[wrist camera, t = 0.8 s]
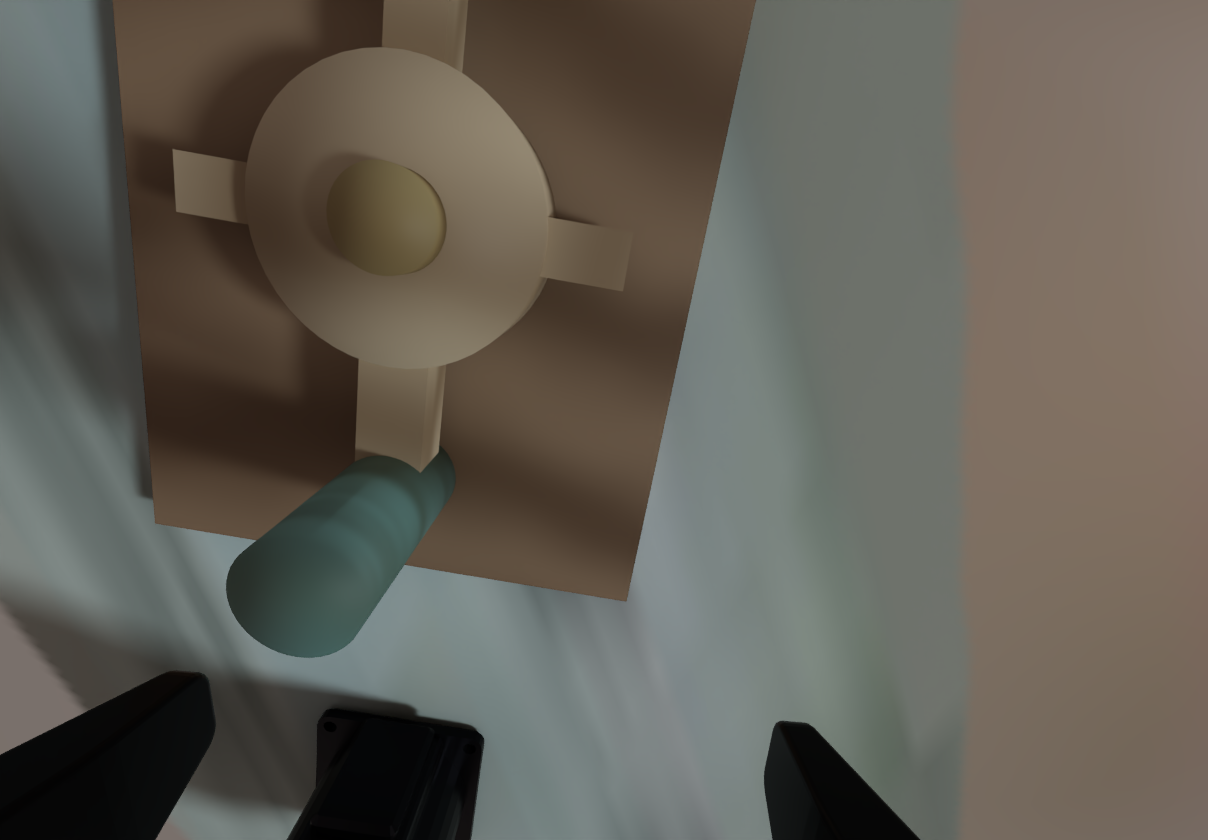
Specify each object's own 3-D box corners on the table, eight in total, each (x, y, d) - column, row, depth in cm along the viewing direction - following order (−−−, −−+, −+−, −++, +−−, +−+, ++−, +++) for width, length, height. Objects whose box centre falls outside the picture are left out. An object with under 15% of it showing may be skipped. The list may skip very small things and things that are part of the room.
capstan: (220, -54, 13) (-124, -311, 7) (667, 31, 14) (706, -147, 7) (237, 485, 18) (31, 614, 12) (577, 542, 18) (553, 698, 12)
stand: (626, 581, 20) (627, 708, 15) (182, 507, 20) (11, 609, 14) (769, -96, 14) (865, -317, 9) (135, -220, 14) (-193, -534, 8)
